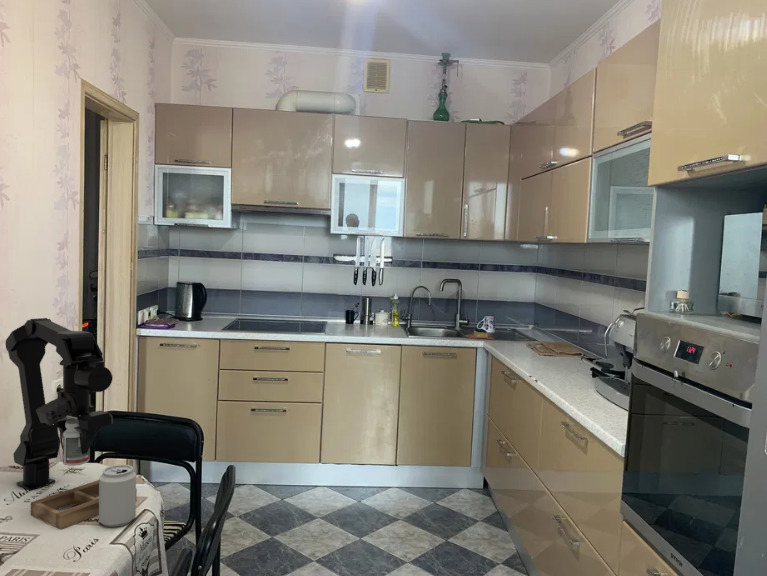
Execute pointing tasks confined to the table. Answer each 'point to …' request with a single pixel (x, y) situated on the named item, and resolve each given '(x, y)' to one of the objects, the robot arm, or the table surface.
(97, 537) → the table surface
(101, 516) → the can
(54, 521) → the wooden divided tray
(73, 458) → the pill bottle
